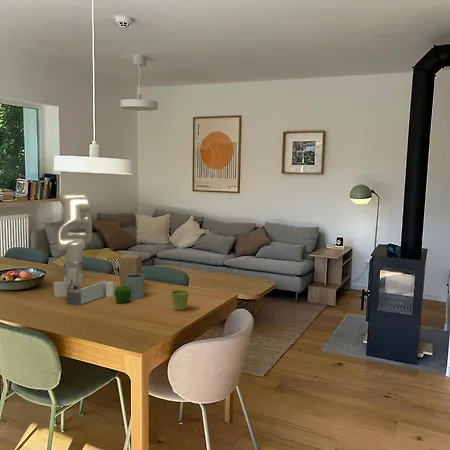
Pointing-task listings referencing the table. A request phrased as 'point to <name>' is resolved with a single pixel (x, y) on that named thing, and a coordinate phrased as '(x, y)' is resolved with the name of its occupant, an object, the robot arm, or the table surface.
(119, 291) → the bell pepper
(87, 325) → the table surface
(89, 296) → the door
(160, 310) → the table surface
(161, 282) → the table surface
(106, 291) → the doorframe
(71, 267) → the robot arm
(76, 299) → the dark grey block
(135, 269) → the wooden block
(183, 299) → the plant pot
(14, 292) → the table surface
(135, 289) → the grey blue cup
